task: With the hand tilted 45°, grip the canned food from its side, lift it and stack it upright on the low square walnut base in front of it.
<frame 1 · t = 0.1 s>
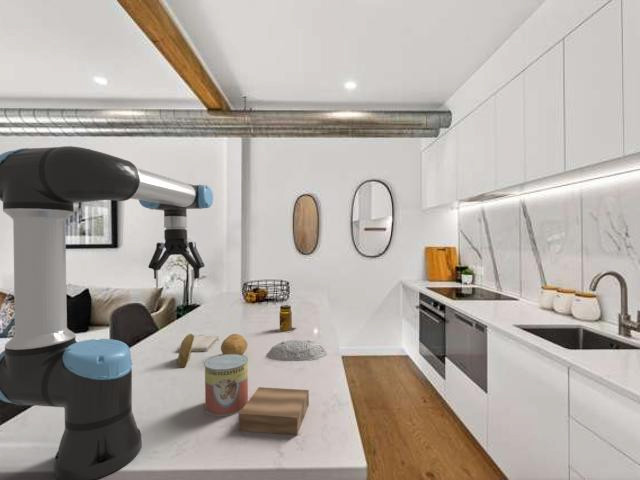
hand: (176, 288, 120), 28 cm above the counter, tool pointing down, fingers open, 13 cm apart
potato: (234, 358, 127), on the counter
washcloth: (200, 346, 143), on the counter
condiment: (286, 330, 166), on the counter
rock: (182, 363, 123), on the counter
canned food: (227, 406, 91), on the counter
food container: (297, 355, 131), on the counter
walnut base: (276, 416, 84), on the counter
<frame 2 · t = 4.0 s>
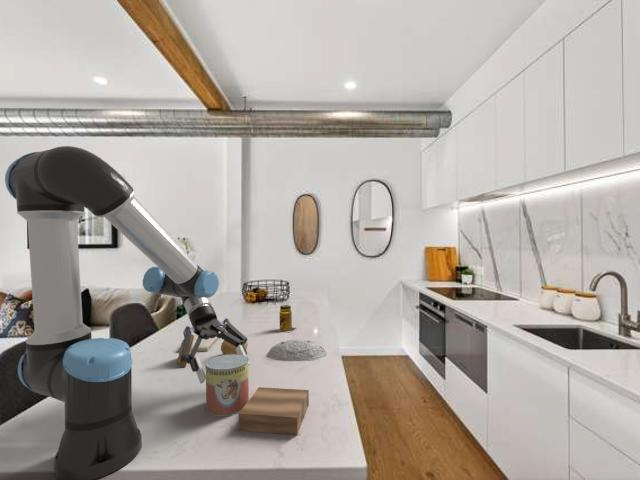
hand: (226, 373, 93), 8 cm above the counter, tool tilted 45°, fingers open, 13 cm apart
nothing on the counter moved.
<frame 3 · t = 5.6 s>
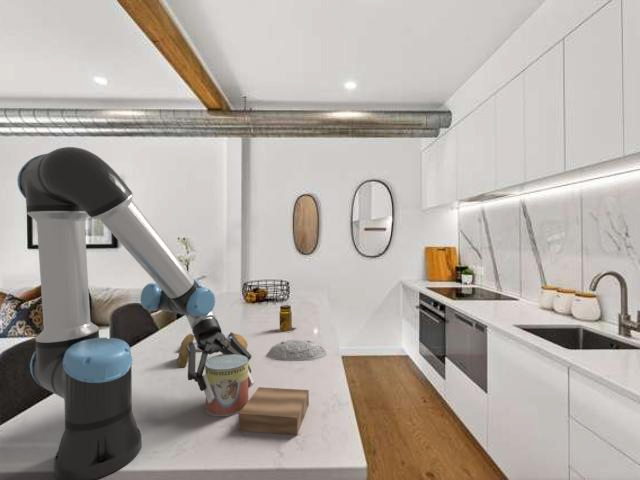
hand: (232, 392, 89), 4 cm above the counter, tool tilted 45°, fingers closed on canned food, 11 cm apart
canned food: (227, 406, 90), on the counter, touching gripper
everything else where it was.
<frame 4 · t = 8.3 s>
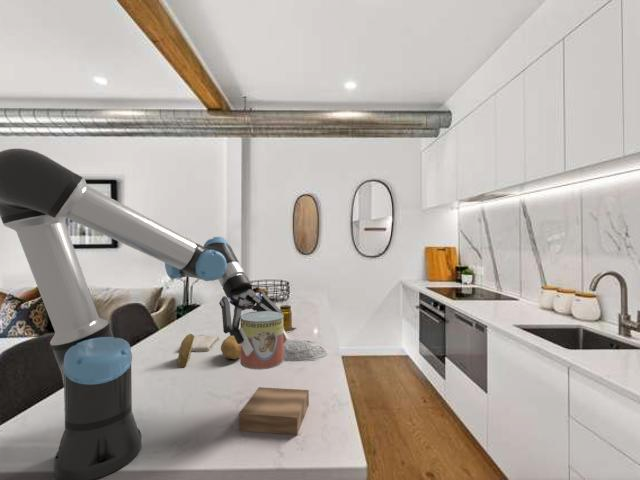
hand: (268, 347, 86), 17 cm above the counter, tool tilted 45°, fingers closed on canned food, 11 cm apart
canned food: (262, 361, 88), point 13 cm above the counter, touching gripper
everything else where it was.
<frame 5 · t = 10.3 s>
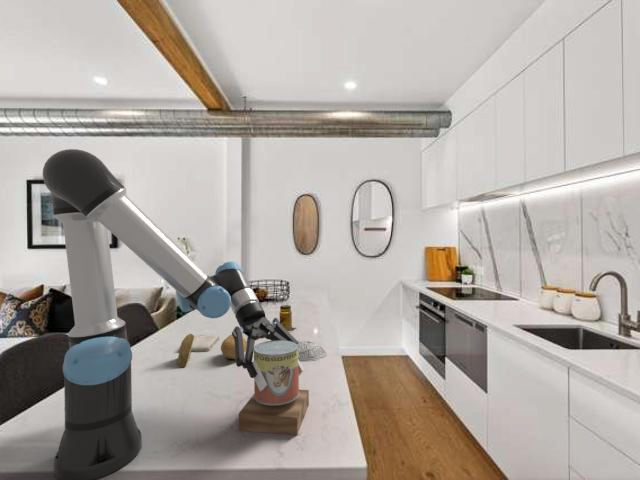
hand: (283, 380, 82), 10 cm above the counter, tool tilted 45°, fingers closed on canned food, 11 cm apart
canned food: (276, 395, 84), point 5 cm above the counter, touching gripper
when the fingers open (9 cm above the counter, at t = 11.1 s): canned food stays where it is, resting on walnut base.
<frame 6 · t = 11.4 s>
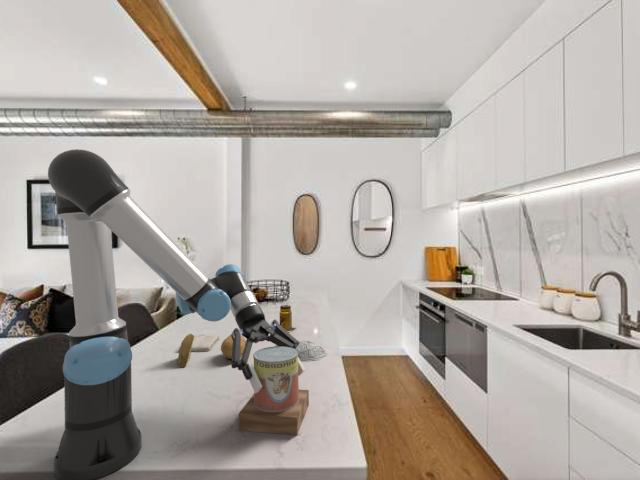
hand: (281, 381, 83), 10 cm above the counter, tool tilted 45°, fingers open, 13 cm apart
canned food: (276, 401, 84), point 4 cm above the counter, touching walnut base
everything else where it was.
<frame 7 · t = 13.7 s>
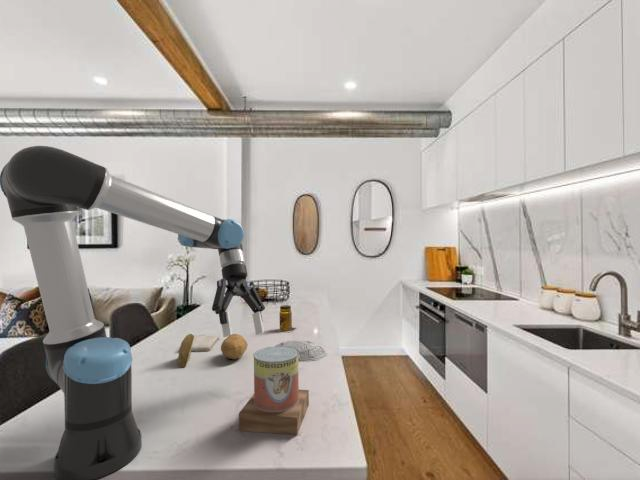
hand: (245, 334, 97), 17 cm above the counter, tool tilted 25°, fingers open, 13 cm apart
nothing on the counter moved.
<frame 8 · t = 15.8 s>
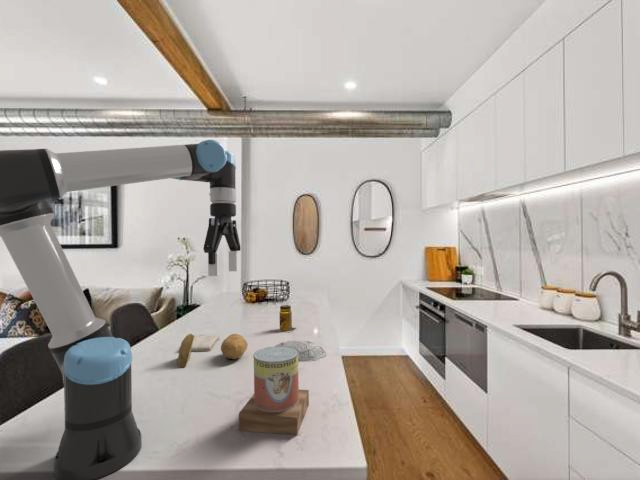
hand: (224, 273, 101), 35 cm above the counter, tool pointing down, fingers open, 13 cm apart
nothing on the counter moved.
at the end: canned food inside the target area on the walnut base (0.1 cm from its centre), point 3.8 cm above the walnut base's base; canned food tilted 0°; the gripper is holding nothing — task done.
